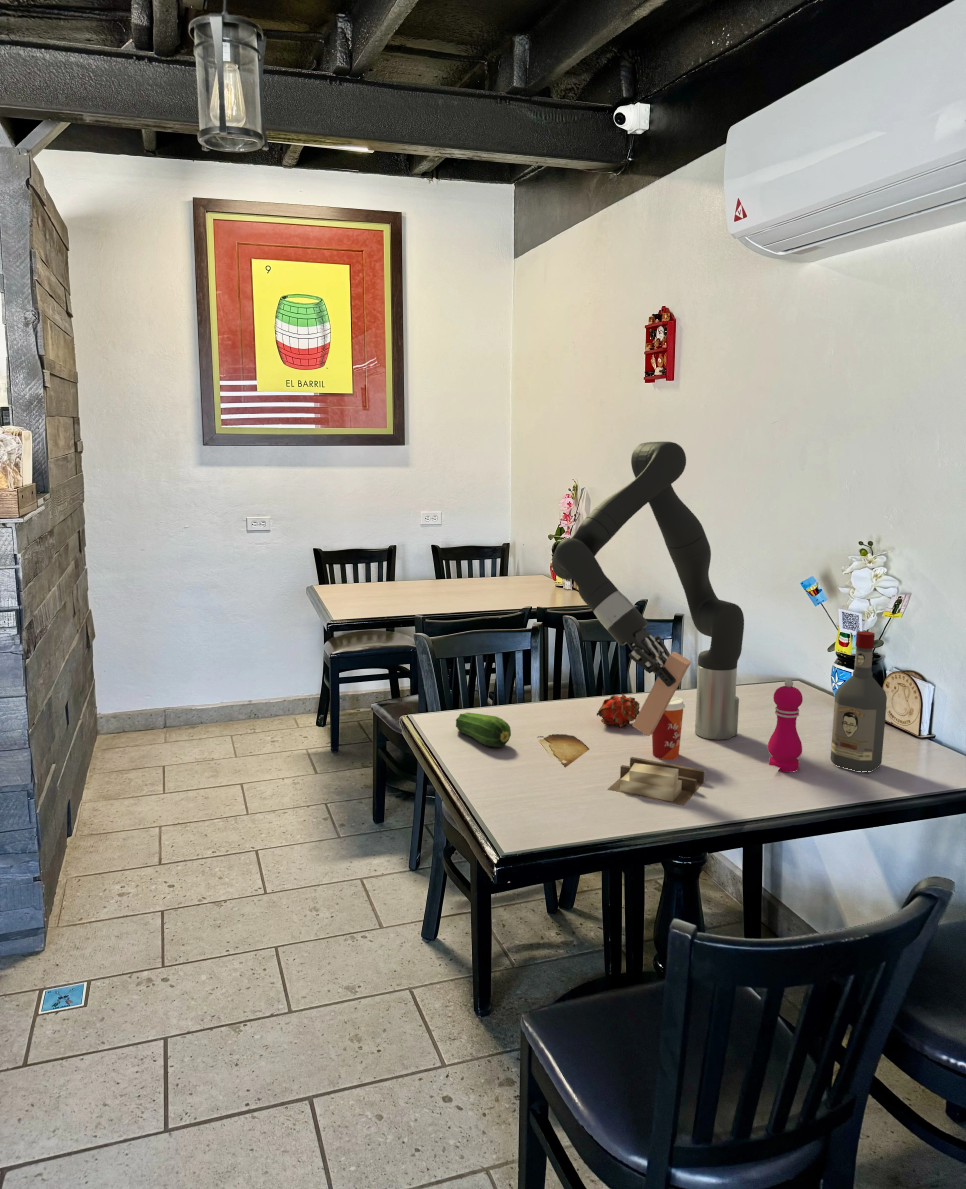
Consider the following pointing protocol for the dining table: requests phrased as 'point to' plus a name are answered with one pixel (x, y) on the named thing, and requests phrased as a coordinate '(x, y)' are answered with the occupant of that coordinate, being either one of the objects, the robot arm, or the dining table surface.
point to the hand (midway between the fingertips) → (675, 681)
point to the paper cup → (668, 731)
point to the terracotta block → (661, 695)
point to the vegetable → (484, 728)
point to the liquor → (859, 713)
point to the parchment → (564, 747)
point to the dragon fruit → (619, 710)
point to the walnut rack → (687, 775)
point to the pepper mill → (786, 729)
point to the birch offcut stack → (652, 781)
